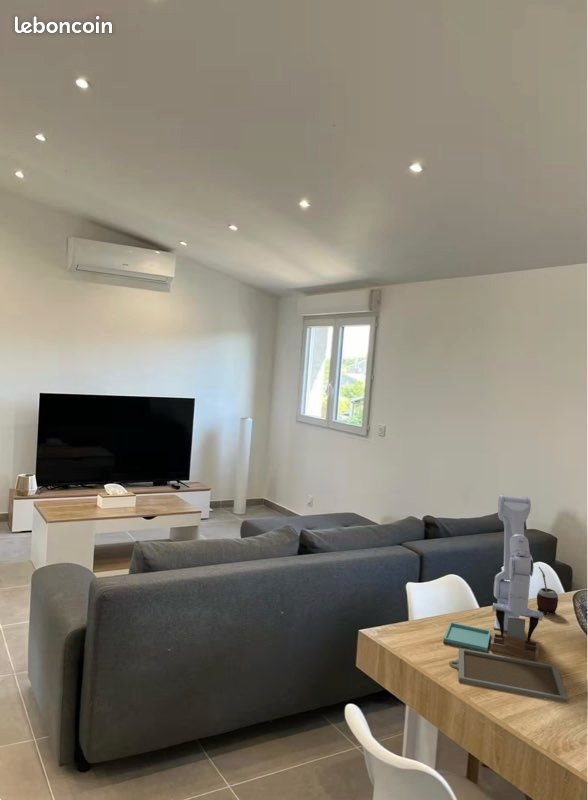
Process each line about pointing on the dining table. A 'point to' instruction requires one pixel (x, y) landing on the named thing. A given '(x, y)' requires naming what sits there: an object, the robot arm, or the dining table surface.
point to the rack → (529, 652)
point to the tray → (467, 637)
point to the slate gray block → (516, 627)
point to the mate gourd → (547, 599)
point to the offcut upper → (514, 642)
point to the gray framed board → (509, 674)
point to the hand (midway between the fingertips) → (515, 637)
